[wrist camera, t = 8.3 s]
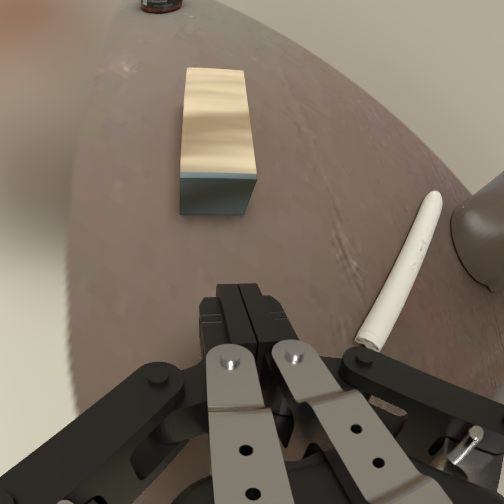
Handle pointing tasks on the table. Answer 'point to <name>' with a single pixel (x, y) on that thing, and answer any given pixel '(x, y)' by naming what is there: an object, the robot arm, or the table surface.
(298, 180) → the table surface
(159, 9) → the supplement bottle
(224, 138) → the beech block
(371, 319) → the marker
